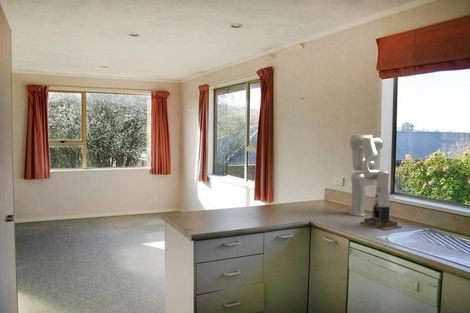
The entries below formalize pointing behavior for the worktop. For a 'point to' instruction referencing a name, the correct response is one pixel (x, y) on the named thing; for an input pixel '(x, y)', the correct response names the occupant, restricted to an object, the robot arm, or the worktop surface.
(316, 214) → the worktop surface
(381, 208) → the small box
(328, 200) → the worktop surface
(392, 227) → the brown shallow box
